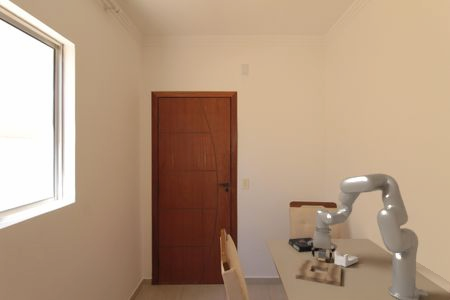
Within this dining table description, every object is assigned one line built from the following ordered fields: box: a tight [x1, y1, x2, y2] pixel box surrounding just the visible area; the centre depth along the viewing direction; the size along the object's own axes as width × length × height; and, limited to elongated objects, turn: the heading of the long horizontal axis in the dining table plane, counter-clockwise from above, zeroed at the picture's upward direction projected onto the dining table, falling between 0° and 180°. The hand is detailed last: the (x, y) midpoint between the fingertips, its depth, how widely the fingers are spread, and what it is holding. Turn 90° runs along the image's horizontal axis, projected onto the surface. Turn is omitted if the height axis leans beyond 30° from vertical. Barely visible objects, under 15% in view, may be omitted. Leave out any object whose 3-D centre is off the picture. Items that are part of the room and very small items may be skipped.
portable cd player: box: [288, 237, 323, 253], centre depth 199 cm, size 16×17×4 cm
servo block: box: [317, 249, 327, 263], centre depth 176 cm, size 4×10×6 cm, turn 157°
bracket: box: [334, 250, 359, 268], centre depth 173 cm, size 13×7×8 cm, turn 125°
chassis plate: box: [295, 258, 342, 287], centre depth 159 cm, size 22×22×2 cm
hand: (321, 257), depth 176 cm, fingers open, 9 cm apart
